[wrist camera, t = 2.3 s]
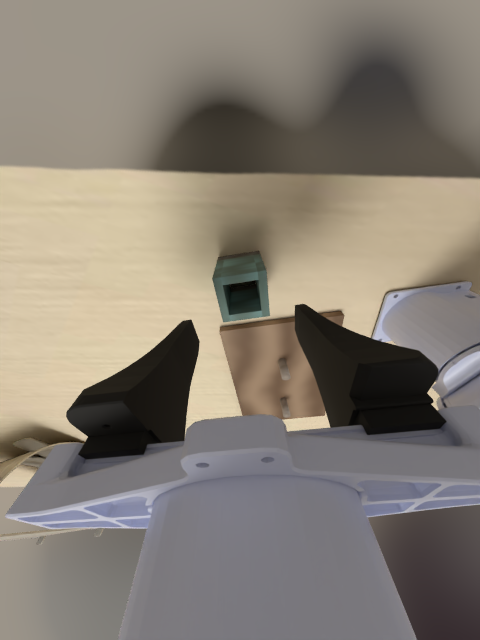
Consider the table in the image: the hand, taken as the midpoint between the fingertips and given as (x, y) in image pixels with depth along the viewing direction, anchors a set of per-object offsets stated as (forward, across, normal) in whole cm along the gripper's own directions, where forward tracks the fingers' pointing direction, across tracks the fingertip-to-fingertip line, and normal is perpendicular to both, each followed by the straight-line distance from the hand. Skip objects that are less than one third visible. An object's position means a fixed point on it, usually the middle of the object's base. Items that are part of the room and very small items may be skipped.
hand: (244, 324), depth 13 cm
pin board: (+10, -4, +19) cm, 22 cm away
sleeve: (+10, 0, 0) cm, 10 cm away
